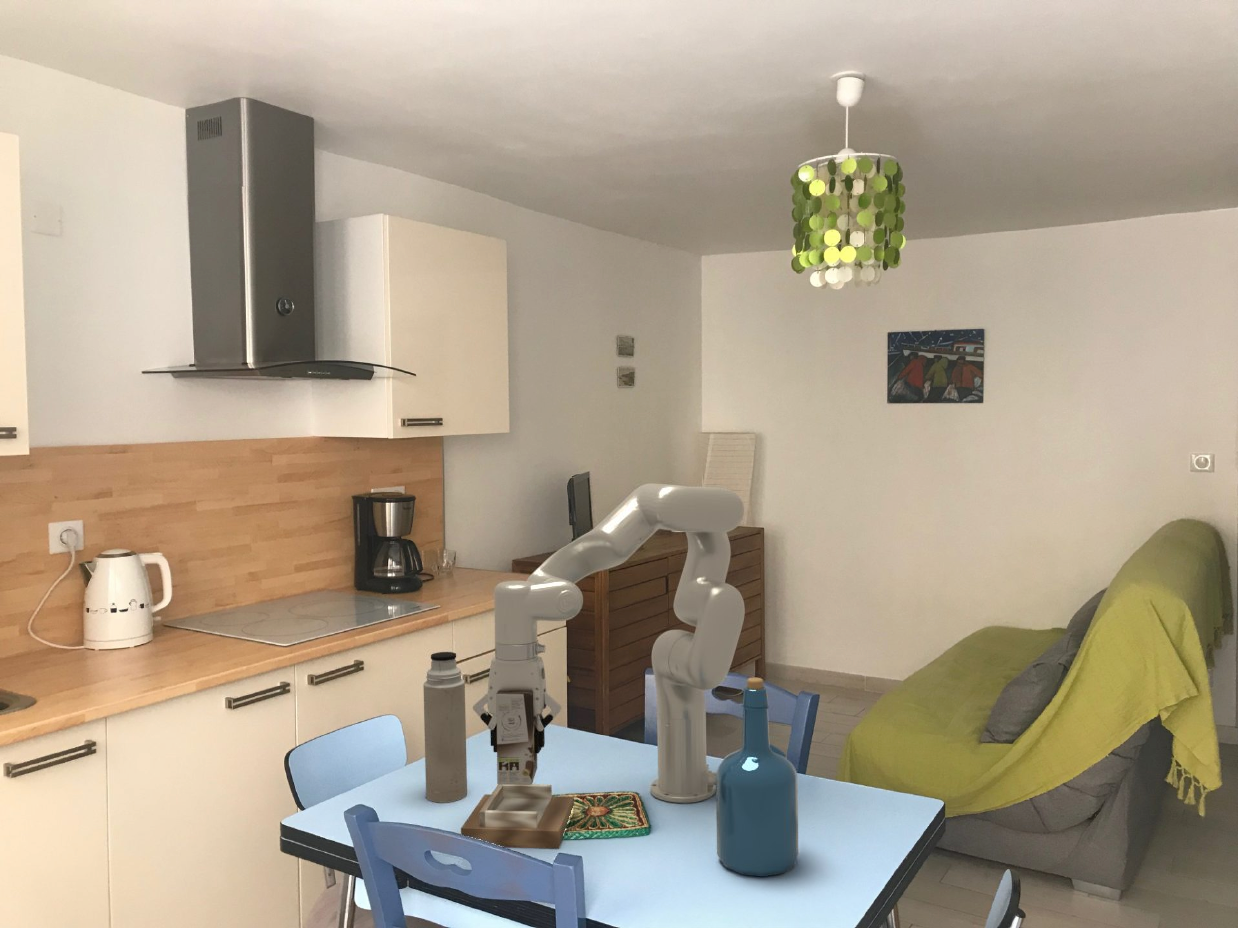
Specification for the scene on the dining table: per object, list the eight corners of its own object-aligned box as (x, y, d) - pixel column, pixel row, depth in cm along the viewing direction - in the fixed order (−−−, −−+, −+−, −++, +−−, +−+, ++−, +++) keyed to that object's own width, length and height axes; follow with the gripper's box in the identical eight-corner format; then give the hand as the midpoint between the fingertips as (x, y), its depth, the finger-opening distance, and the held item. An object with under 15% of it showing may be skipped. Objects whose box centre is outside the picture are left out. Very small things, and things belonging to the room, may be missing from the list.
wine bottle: (779, 886, 151) (777, 693, 150) (703, 867, 158) (699, 683, 157) (812, 853, 162) (809, 674, 162) (739, 837, 169) (736, 665, 169)
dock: (574, 812, 182) (573, 783, 182) (558, 848, 166) (558, 816, 166) (484, 809, 184) (484, 780, 184) (461, 845, 168) (460, 813, 168)
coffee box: (533, 785, 170) (531, 693, 170) (496, 785, 170) (494, 693, 170) (538, 767, 179) (537, 680, 179) (503, 767, 179) (502, 680, 179)
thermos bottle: (438, 786, 197) (435, 647, 196) (474, 790, 195) (471, 650, 194) (418, 800, 190) (414, 656, 189) (454, 804, 187) (451, 659, 186)
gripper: (568, 647, 177) (569, 745, 177) (474, 645, 179) (475, 742, 179) (560, 656, 169) (562, 758, 170) (462, 654, 171) (464, 755, 172)
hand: (517, 749), depth 175 cm, fingers closed on coffee box, 6 cm apart
